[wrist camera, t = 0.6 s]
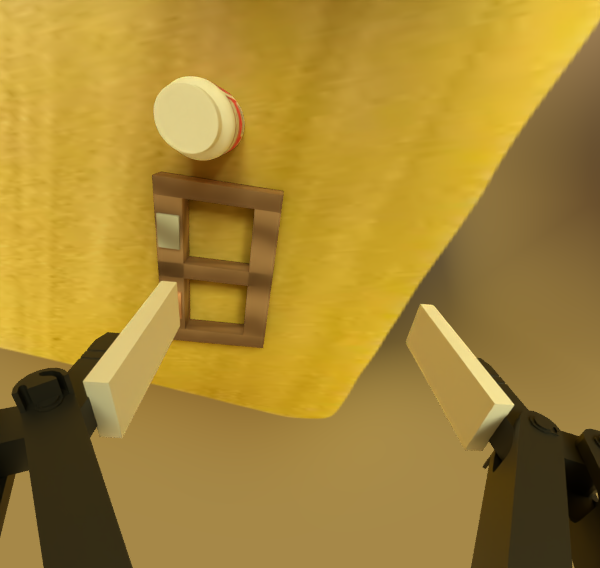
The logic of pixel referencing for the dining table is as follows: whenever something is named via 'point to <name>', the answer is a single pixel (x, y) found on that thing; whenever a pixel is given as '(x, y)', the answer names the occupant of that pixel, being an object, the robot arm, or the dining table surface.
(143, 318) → the robot arm
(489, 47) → the dining table surface
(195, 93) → the pill bottle
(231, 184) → the socket board
